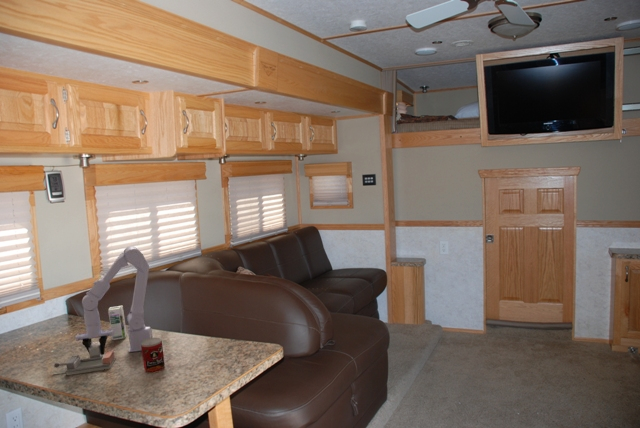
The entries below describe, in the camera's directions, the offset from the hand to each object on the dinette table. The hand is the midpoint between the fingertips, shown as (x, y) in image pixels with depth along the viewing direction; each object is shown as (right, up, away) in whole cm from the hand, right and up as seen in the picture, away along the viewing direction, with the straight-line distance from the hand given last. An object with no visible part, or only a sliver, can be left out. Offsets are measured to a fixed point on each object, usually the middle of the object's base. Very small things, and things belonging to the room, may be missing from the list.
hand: (97, 354), depth 211 cm
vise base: (-1, -3, -10) cm, 10 cm away
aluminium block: (0, -1, 0) cm, 1 cm away
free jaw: (+8, -1, -8) cm, 12 cm away
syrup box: (0, +1, +24) cm, 24 cm away
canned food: (+29, -1, -16) cm, 34 cm away
